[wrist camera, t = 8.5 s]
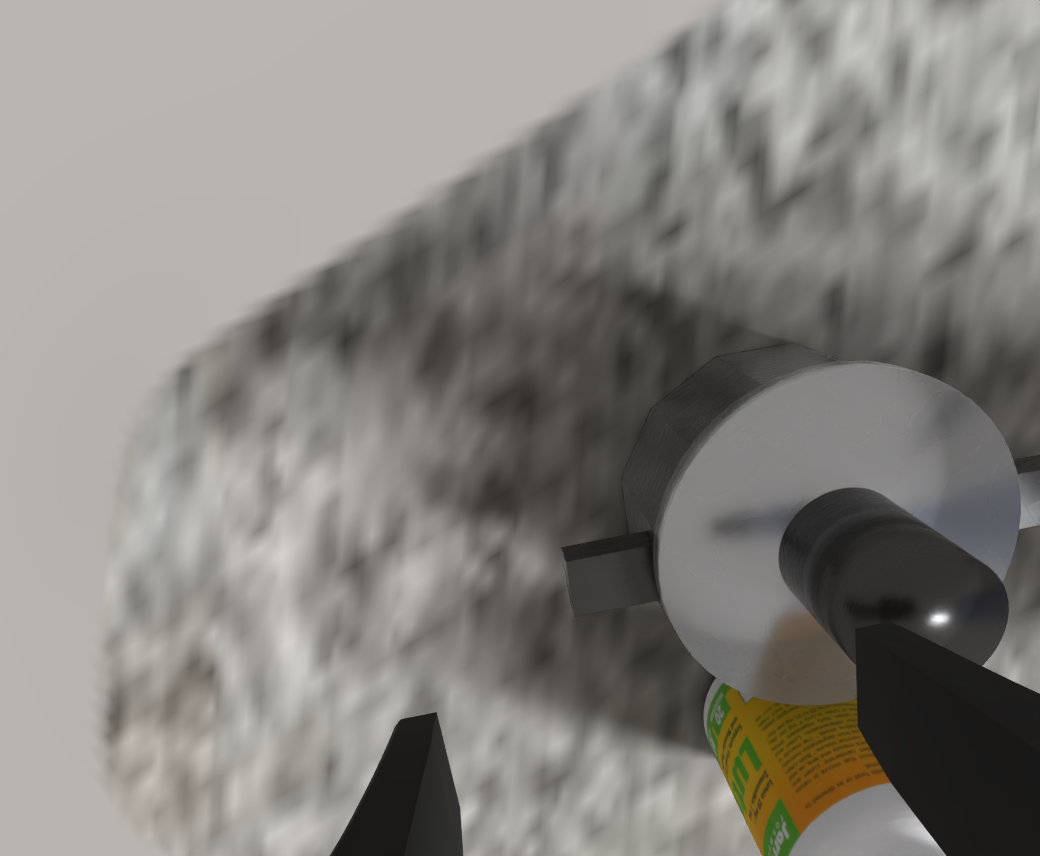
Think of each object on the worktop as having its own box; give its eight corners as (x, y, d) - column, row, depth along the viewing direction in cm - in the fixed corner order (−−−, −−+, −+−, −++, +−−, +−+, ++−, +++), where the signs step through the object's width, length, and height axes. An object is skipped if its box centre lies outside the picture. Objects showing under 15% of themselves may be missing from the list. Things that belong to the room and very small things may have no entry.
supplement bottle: (681, 665, 24) (826, 959, 15) (836, 609, 24) (1082, 871, 14) (721, 786, 25) (874, 1119, 16) (866, 735, 25) (1104, 1041, 16)
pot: (975, 308, 21) (1091, 332, 17) (968, 569, 24) (1067, 639, 20) (528, 391, 21) (545, 434, 17) (571, 647, 23) (595, 735, 19)
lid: (1008, 329, 17) (1174, 367, 13) (992, 653, 20) (1126, 764, 16) (633, 397, 17) (689, 456, 13) (670, 716, 19) (724, 846, 16)
